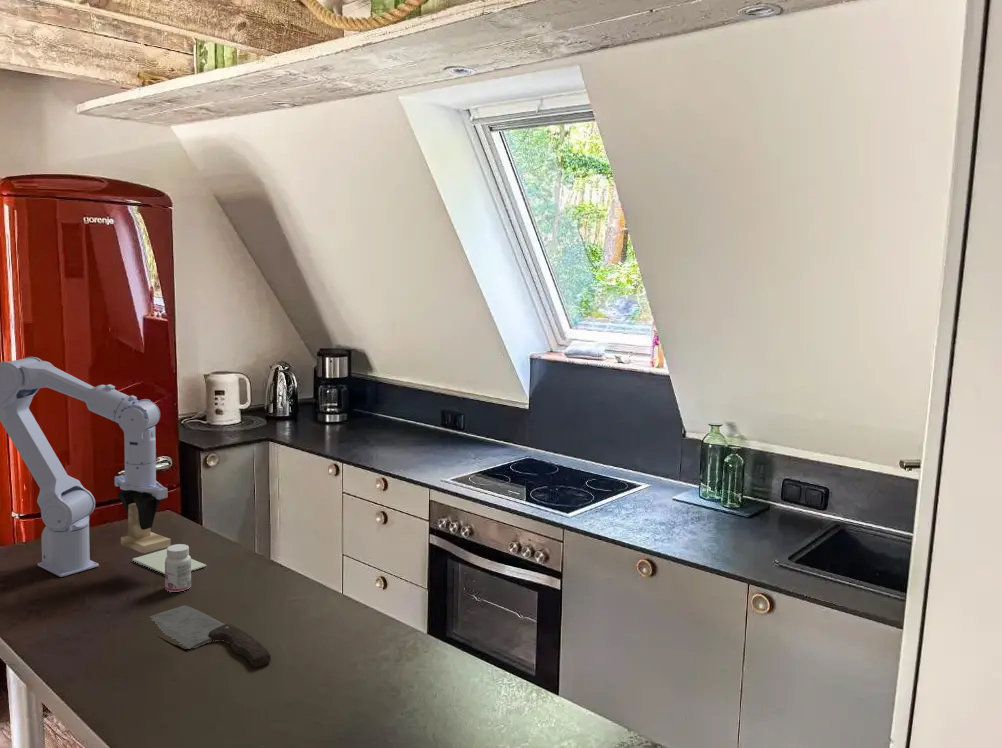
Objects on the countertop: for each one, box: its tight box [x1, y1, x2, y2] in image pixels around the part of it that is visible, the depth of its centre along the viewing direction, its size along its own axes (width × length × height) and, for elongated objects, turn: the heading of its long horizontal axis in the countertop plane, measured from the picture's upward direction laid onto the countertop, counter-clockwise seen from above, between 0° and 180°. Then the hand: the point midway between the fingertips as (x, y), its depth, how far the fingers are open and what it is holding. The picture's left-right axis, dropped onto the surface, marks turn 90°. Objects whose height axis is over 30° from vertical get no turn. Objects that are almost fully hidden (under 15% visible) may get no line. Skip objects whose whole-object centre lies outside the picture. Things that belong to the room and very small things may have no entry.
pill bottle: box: [164, 543, 192, 593], centre depth 160 cm, size 5×5×8 cm
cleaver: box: [149, 604, 272, 668], centre depth 140 cm, size 29×10×2 cm, turn 53°
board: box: [132, 548, 207, 574], centre depth 172 cm, size 14×8×1 cm, turn 55°
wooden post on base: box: [120, 503, 172, 554], centre depth 164 cm, size 8×6×8 cm
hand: (141, 526), depth 166 cm, fingers closed on wooden post on base, 3 cm apart
